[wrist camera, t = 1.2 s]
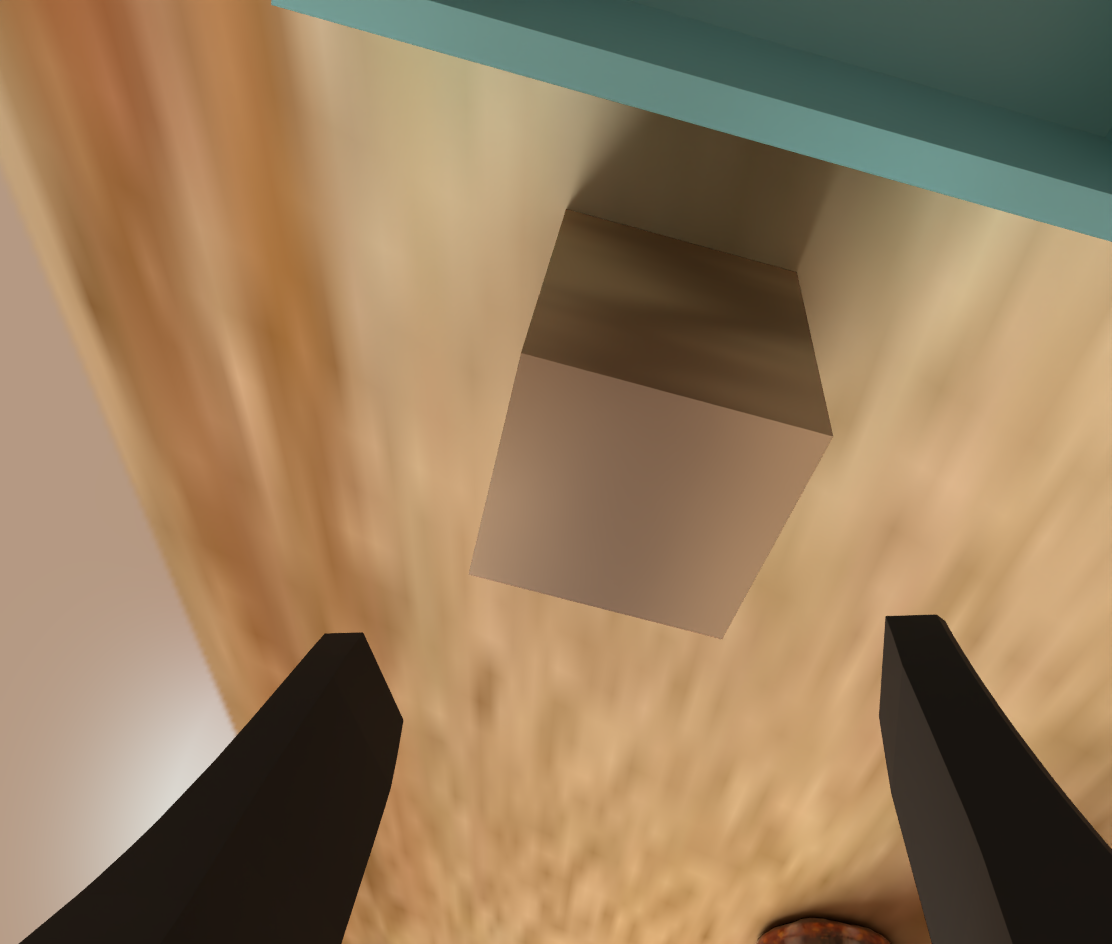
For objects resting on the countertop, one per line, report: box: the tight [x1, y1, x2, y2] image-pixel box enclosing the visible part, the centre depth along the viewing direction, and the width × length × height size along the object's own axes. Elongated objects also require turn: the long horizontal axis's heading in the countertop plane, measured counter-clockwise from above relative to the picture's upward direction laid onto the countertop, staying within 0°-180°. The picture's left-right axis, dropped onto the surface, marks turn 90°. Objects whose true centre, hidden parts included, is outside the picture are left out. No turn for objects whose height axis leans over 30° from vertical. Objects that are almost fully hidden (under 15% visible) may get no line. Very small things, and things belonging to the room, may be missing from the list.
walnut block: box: [469, 209, 833, 639], centre depth 17 cm, size 5×5×6 cm
